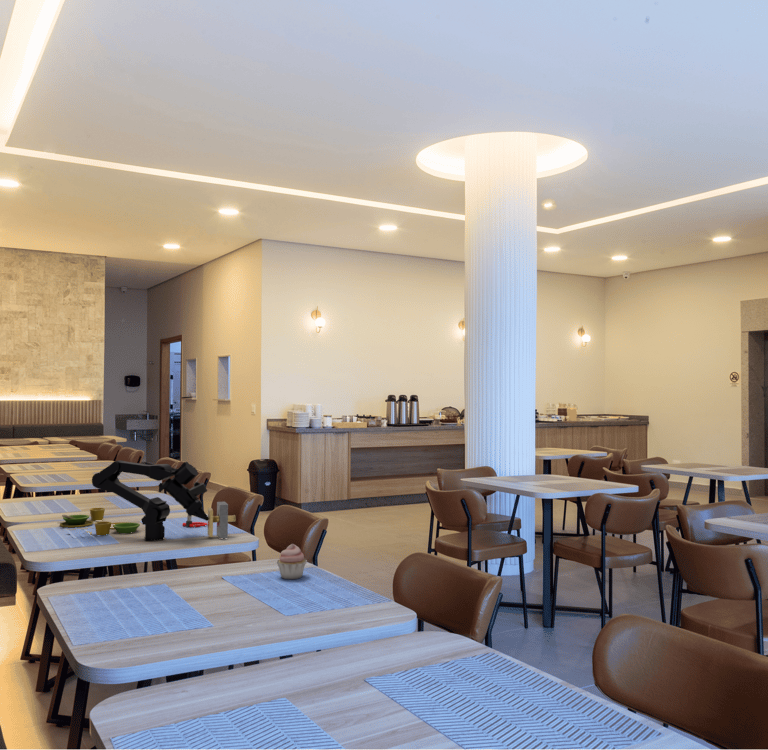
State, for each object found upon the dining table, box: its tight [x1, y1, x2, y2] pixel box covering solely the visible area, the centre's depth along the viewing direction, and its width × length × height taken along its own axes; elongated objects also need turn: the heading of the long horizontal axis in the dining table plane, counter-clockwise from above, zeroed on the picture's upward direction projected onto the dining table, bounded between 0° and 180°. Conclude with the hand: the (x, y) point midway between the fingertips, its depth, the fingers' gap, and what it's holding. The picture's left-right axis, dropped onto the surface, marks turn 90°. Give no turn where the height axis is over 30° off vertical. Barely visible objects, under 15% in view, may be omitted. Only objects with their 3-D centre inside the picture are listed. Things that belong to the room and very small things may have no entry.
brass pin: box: [207, 507, 237, 538], centre depth 272 cm, size 10×6×10 cm, turn 111°
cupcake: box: [276, 543, 308, 580], centre depth 214 cm, size 9×9×10 cm
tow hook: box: [182, 514, 208, 529], centre depth 296 cm, size 8×13×9 cm
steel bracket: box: [216, 501, 229, 539], centre depth 272 cm, size 3×8×13 cm, turn 21°
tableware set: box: [56, 507, 141, 536], centre depth 290 cm, size 41×28×6 cm
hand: (208, 519), depth 270 cm, fingers closed
